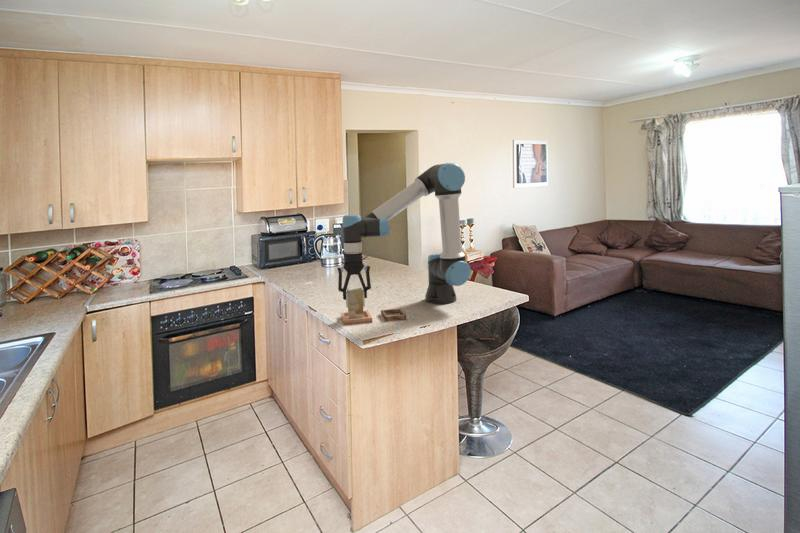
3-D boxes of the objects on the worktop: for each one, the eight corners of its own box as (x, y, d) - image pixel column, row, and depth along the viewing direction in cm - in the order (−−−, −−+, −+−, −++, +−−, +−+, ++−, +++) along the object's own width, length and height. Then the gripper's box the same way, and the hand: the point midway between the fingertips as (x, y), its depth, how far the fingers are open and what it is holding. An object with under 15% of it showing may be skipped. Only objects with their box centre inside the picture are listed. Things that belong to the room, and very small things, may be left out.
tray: (368, 314, 192) (368, 310, 191) (372, 322, 180) (372, 317, 180) (341, 317, 189) (340, 312, 189) (343, 325, 178) (343, 320, 177)
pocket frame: (400, 312, 193) (400, 308, 193) (406, 319, 183) (406, 315, 182) (381, 314, 191) (380, 310, 191) (385, 321, 181) (385, 317, 180)
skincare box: (349, 319, 182) (347, 291, 179) (348, 316, 186) (346, 288, 183) (364, 317, 183) (362, 289, 181) (362, 314, 187) (361, 286, 185)
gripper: (374, 250, 185) (376, 302, 189) (329, 252, 181) (332, 305, 185) (377, 252, 178) (379, 306, 182) (330, 255, 174) (333, 310, 178)
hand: (355, 306), depth 184 cm, fingers closed on skincare box, 6 cm apart
